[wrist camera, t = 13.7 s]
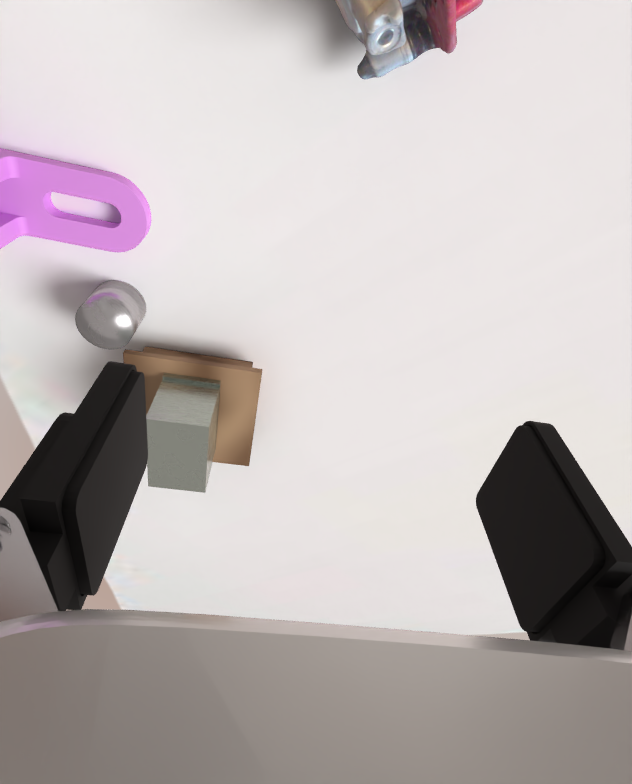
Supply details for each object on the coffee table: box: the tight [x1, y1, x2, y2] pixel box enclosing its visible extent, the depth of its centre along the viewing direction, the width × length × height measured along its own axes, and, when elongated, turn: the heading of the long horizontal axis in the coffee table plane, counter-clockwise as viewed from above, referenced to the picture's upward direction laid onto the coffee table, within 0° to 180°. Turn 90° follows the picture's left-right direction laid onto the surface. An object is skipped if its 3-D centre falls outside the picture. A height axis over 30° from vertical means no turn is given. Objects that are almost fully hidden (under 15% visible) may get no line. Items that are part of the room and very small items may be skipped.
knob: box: [75, 280, 146, 349], centre depth 39 cm, size 4×4×4 cm
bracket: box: [0, 148, 151, 252], centre depth 32 cm, size 13×6×7 cm, turn 78°
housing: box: [146, 373, 221, 492], centre depth 41 cm, size 9×5×6 cm, turn 170°
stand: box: [123, 347, 262, 466], centre depth 45 cm, size 12×12×3 cm
